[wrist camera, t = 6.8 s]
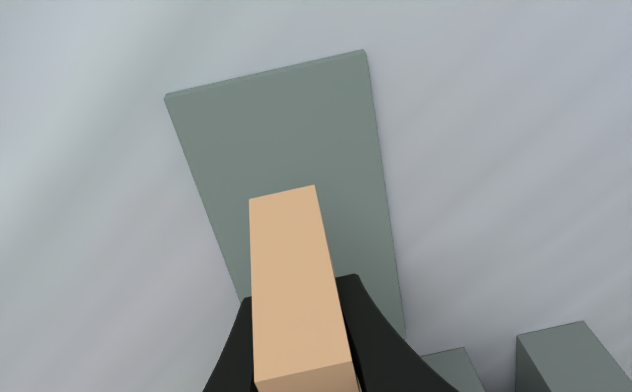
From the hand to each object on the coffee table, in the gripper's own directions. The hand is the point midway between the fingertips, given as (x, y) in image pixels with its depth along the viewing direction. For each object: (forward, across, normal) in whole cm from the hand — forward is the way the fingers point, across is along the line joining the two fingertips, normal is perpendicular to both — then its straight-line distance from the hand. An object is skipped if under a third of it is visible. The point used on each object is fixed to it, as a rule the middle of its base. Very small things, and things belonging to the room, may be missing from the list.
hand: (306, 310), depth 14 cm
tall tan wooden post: (+3, 0, +3) cm, 4 cm away
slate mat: (+9, 0, +4) cm, 9 cm away
